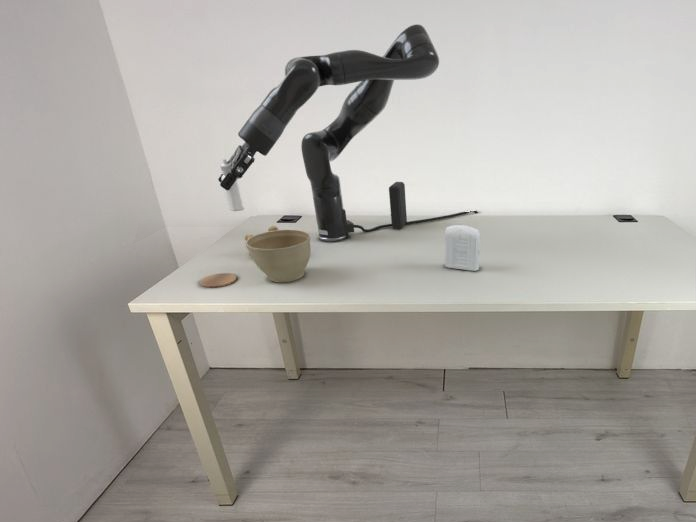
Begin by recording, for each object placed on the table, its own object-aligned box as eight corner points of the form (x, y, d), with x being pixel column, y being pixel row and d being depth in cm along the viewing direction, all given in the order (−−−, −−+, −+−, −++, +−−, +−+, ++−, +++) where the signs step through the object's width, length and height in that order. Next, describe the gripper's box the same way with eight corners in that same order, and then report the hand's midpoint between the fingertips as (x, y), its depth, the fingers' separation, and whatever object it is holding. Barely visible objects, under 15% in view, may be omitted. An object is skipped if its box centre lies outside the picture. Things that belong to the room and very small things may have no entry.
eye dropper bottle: (248, 205, 123) (236, 157, 117) (242, 211, 118) (230, 161, 112) (231, 206, 123) (218, 157, 116) (224, 212, 118) (210, 161, 112)
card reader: (397, 222, 177) (394, 181, 169) (407, 222, 177) (405, 181, 169) (390, 229, 169) (387, 186, 162) (401, 230, 169) (398, 186, 161)
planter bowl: (254, 270, 135) (245, 233, 129) (312, 263, 140) (305, 227, 135) (256, 292, 122) (246, 251, 116) (320, 282, 127) (313, 243, 122)
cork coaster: (235, 272, 133) (234, 271, 133) (237, 283, 127) (237, 282, 126) (200, 278, 130) (199, 276, 130) (200, 289, 123) (200, 288, 123)
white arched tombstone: (481, 267, 138) (482, 225, 131) (477, 272, 134) (477, 229, 128) (448, 263, 140) (447, 222, 134) (443, 268, 137) (442, 226, 130)
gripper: (281, 145, 112) (239, 201, 114) (271, 137, 123) (234, 189, 125) (252, 121, 107) (209, 181, 109) (245, 116, 118) (206, 170, 120)
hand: (222, 185), depth 117 cm, fingers closed on eye dropper bottle, 5 cm apart
